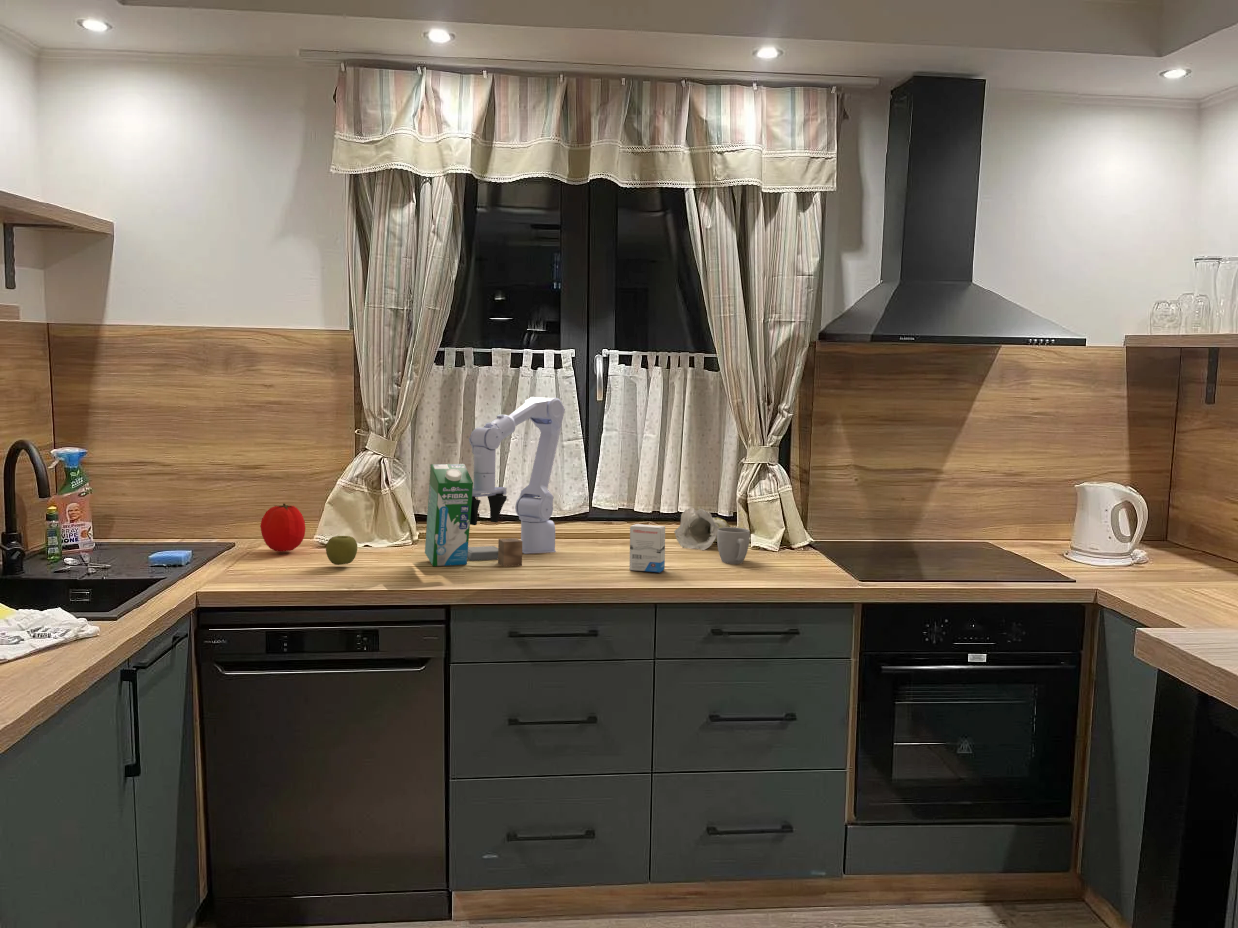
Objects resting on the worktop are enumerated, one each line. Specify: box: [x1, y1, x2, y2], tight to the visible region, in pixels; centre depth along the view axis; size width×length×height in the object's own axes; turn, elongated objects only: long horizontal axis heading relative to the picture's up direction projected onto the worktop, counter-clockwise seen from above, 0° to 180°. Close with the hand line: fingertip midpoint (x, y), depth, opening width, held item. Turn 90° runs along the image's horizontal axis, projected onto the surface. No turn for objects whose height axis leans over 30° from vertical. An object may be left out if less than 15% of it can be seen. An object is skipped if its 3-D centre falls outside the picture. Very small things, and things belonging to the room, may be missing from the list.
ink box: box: [629, 523, 666, 573], centre depth 243 cm, size 9×5×12 cm, turn 71°
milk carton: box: [424, 463, 474, 567], centre depth 242 cm, size 9×9×25 cm
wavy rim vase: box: [673, 507, 731, 551], centre depth 277 cm, size 12×13×18 cm
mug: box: [717, 526, 751, 565], centre depth 252 cm, size 12×9×10 cm
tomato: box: [260, 502, 306, 552], centre depth 254 cm, size 12×12×13 cm
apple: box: [325, 535, 358, 566], centre depth 239 cm, size 8×8×7 cm
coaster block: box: [467, 545, 498, 562], centre depth 255 cm, size 9×9×3 cm
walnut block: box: [497, 537, 523, 568], centre depth 245 cm, size 5×5×6 cm
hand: (483, 523), depth 248 cm, fingers open, 7 cm apart
